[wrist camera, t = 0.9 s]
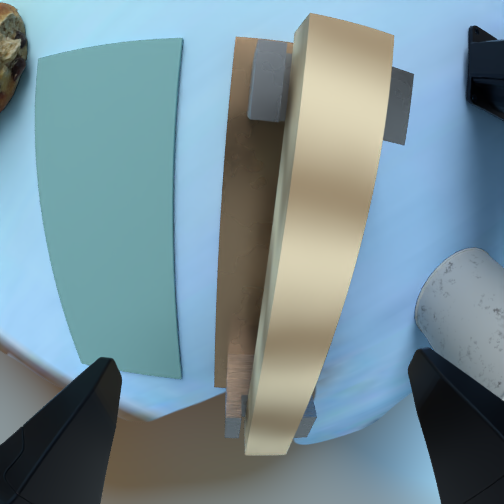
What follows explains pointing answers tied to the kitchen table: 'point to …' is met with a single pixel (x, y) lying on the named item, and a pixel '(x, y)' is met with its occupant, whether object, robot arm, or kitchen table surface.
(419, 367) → the robot arm
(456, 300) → the grey stone cylinder
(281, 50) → the bracketed wooden plank
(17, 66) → the bread roll
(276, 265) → the rail
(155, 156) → the mat
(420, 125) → the kitchen table surface
